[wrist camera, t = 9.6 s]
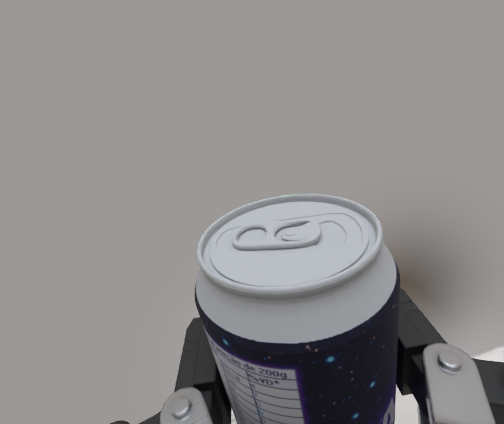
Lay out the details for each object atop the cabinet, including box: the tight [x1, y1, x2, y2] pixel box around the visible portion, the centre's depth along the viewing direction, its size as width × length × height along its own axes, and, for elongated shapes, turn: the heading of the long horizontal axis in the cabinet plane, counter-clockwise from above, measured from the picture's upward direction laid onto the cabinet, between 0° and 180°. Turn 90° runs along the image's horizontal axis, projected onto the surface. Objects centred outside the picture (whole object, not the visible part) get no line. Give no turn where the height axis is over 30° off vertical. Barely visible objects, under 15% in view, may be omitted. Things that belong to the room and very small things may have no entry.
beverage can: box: [195, 194, 400, 424], centre depth 10 cm, size 6×6×12 cm
